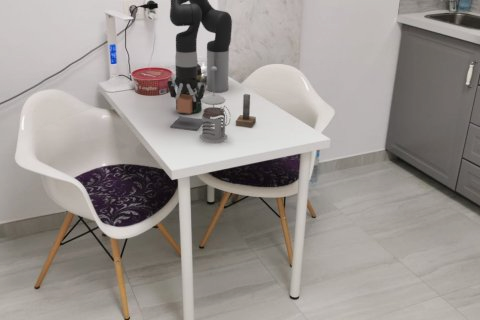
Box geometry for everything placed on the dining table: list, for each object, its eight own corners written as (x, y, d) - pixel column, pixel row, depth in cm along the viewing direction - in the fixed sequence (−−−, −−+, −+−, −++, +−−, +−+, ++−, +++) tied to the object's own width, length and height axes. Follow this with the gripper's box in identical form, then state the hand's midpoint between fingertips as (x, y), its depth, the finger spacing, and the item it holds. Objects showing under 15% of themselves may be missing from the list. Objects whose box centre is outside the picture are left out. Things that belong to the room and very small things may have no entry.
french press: (212, 129, 191) (212, 60, 180) (237, 138, 184) (239, 67, 173) (193, 137, 184) (192, 66, 173) (218, 146, 177) (219, 73, 166)
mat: (179, 117, 200) (179, 116, 199) (205, 120, 198) (205, 119, 197) (170, 127, 191) (170, 126, 191) (196, 130, 189) (196, 129, 189)
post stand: (239, 119, 200) (240, 91, 195) (255, 121, 198) (256, 93, 193) (235, 125, 194) (236, 96, 189) (251, 127, 193) (253, 98, 188)
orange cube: (177, 111, 190) (176, 98, 188) (182, 107, 194) (182, 94, 192) (190, 113, 189) (190, 100, 186) (195, 108, 193) (195, 95, 191)
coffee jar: (180, 116, 201) (179, 68, 193) (173, 109, 208) (172, 62, 200) (204, 112, 205) (204, 65, 197) (196, 106, 212) (196, 60, 204)
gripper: (162, 64, 183) (164, 110, 190) (202, 68, 180) (202, 115, 187) (170, 58, 189) (171, 104, 197) (209, 62, 186) (209, 108, 194)
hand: (187, 109), depth 192 cm, fingers closed on orange cube, 5 cm apart
